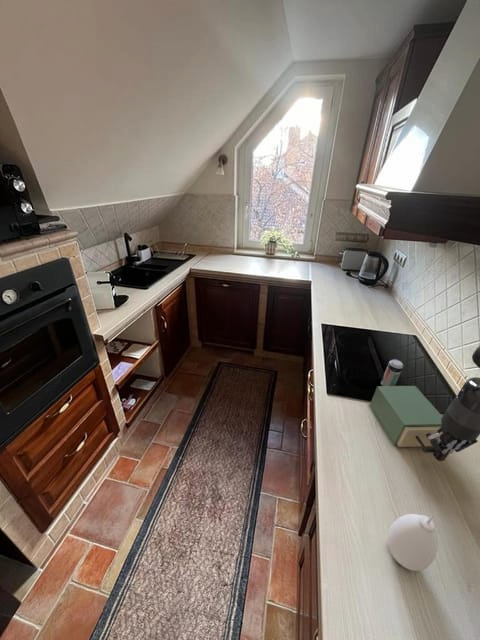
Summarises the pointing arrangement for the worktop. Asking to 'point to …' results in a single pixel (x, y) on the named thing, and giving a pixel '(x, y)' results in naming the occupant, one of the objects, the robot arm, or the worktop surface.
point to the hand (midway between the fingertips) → (437, 457)
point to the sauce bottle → (413, 541)
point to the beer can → (392, 373)
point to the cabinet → (403, 409)
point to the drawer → (417, 437)
